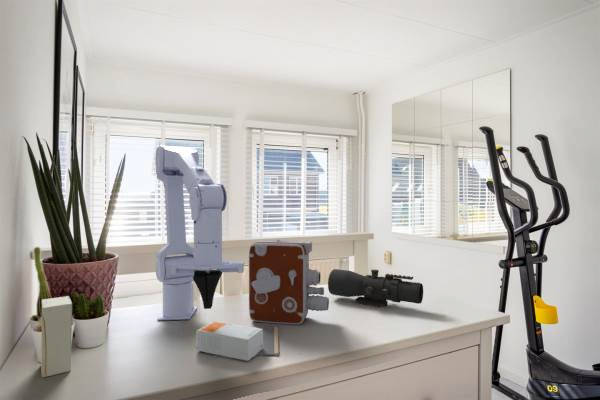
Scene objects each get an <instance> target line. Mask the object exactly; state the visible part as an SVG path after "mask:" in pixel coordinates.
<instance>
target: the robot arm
mask: <svg viewBox="0 0 600 400" xmlns="http://www.w3.org/2000/svg"><path fill="white" fill-rule="evenodd" d="M154 157H155V158H154V160H155V174H156V179H157V180H159V181H160V182H162V183H163V188H164V203H165V222H166V223H165V225H166V241H167V243H166V245H164V246H163V247H162V248H160V250H159V249H158V251H157V253H156V258H155V259H156V262H155V276H156V279H157V281H159V282H160V283H162V313H161V314H160V315H159V316H158V317H157V321H172V320H173V321H174V320H176V321H177V320H190V319H191V318H192V316H193V315H194V313H195V312H196V311H197V309H198V306H195V305H194V300H195V299H194V294H195V293H194V284H193V283H195V285H196V287H197V290H198V292H199V294H200V297H201V300H202V305H203V309H204V310H208V309H210V310H211V309H212V307H213V302H214V296H215V293H216V289H217V287H218V285H219V283H220V282H219V281H220V279H221V277H222V275H223V273H239V274H240V273H244V270H245V268H244V261H226V260H223V212H224V211H225V209H226V207H227V204H228V202H227V201H228V196H227V189H226V187H225V185H224V184H223V183H215V182H214V180H213V179H212V177H211V176H210V174H209V173H208V171H207V170H206V169H204V167H202V166H199V163H200V162H199V160H200V158H199V151H198V150H197V149H196V148H195V147H183V146H168V145H162V144H160V145H158V146H157V148H156V151H155V156H154ZM184 187H185V189H186V191H187V193H188V194H189V198H188V199H189V200H188V201H189V208H190V211H191V214H190V215H191V220H192V221H193V246H191V245H190V244H188V243H187V233H186V217H185V216H186V214H185V199H184V198H185V197H184V196H185V195H184ZM182 254H183V255H182ZM171 255H172V256H171ZM175 255H176V256H175Z"/></svg>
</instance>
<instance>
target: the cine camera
mask: <svg viewBox="0 0 600 400" xmlns="http://www.w3.org/2000/svg"><path fill="white" fill-rule="evenodd" d="M312 251H313V242H312V241H307V240H306V241H305V240H304V241H302V240H281V239H276V240H269V239H268V240H265V239H263V240H259V241H256V242H254V241H253V243H252V244H250V247H249V250H248V312H249V318H250V320H251V321H253V322H256V323H264V324H265V323H268V324H281V325H282V324H283V325H301V324H303V322H304V321H305V320H306V317H307V316H308V314H309V311H310V310H311V311H313V312H314V311H316V312H323V311H324V312H325V311H329V308H330V307H329V305H330V300H329V299H330V298H329V297H328V296H324V295H325V287H323V286H321V287H317V285H318V284H319V285H320V283H321V272H320V271H318V269H311V268H310V253H311V252H312ZM311 285H313V286H311Z"/></svg>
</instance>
